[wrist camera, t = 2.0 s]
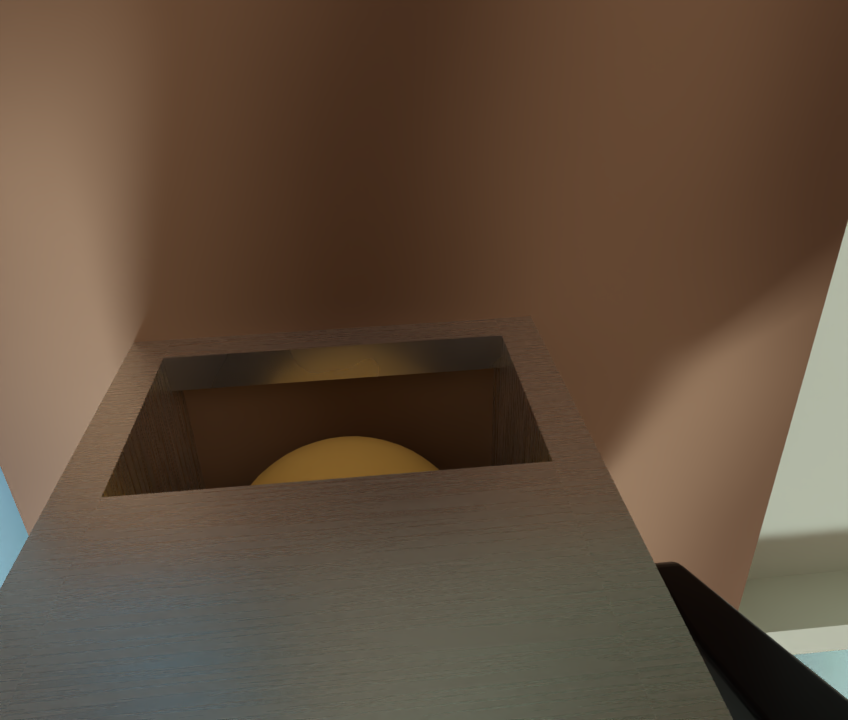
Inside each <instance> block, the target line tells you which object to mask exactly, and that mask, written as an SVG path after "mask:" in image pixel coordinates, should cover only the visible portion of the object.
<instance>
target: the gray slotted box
mask: <svg viewBox="0 0 848 720" xmlns="http://www.w3.org/2000/svg"><path fill="white" fill-rule="evenodd" d="M490 368H494V380H493V417H492V454H491V466H487V467H475V468H462V469H450V470H437V471H425V472H412V473H400V474H387V475H375V476H362V477H350V478H337V479H325V480H312V481H300V482H287V483H275V484H262V485H250V486H237V487H225V488H212V489H206V488H205V483H204V479H203V474H202V470H201V466H200V461H199V457H198V453H197V448H196V444H195V440H194V435H193V431H192V427H191V422H190V418H189V414H188V409H187V405H186V400H185V396H184V392H183V390H193V389H207V388H221V387H235V386H250V385H264V384H278V383H292V382H306V381H320V380H335V379H349V378H363V377H377V376H391V375H405V374H420V373H434V372H448V371H462V370H476V369H490ZM0 720H733V718H732V716H731V714H730V712H729V710H728V708H727V706H726V704H725V702H724V700H723V698H722V696H721V694H720V692H719V690H718V688H717V686H716V684H715V682H714V680H713V678H712V676H711V674H710V672H709V671H708V669H707V667H706V665H705V663H704V661H703V659H702V657H701V655H700V653H699V651H698V649H697V647H696V645H695V643H694V641H693V639H692V637H691V635H690V633H689V631H688V629H687V627H686V625H685V623H684V621H683V619H682V617H681V615H680V613H679V611H678V609H677V607H676V605H675V603H674V601H673V599H672V597H671V595H670V593H669V591H668V589H667V587H666V585H665V583H664V581H663V579H662V577H661V575H660V573H659V571H658V569H657V567H656V565H655V563H654V561H653V559H652V557H651V555H650V553H649V551H648V549H647V547H646V545H645V543H644V541H643V539H642V537H641V535H640V533H639V531H638V529H637V527H636V525H635V523H634V521H633V519H632V517H631V515H630V513H629V511H628V509H627V507H626V505H625V503H624V501H623V499H622V497H621V495H620V493H619V491H618V489H617V487H616V485H615V483H614V481H613V479H612V477H611V475H610V473H609V471H608V469H607V467H606V465H605V463H604V461H603V459H602V457H601V455H600V453H599V451H598V449H597V447H596V445H595V443H594V441H593V439H592V437H591V435H590V433H589V431H588V429H587V427H586V425H585V423H584V421H583V419H582V417H581V415H580V413H579V411H578V409H577V407H576V405H575V403H574V401H573V399H572V397H571V395H570V393H569V391H568V389H567V387H566V386H565V384H564V382H563V380H562V378H561V376H560V374H559V372H558V370H557V368H556V366H555V364H554V362H553V360H552V358H551V356H550V354H549V352H548V350H547V348H546V346H545V344H544V342H543V340H542V338H541V336H540V334H539V332H538V330H537V328H536V326H535V324H534V322H533V320H532V318H531V316H526V317H510V318H495V319H480V320H465V321H450V322H434V323H419V324H404V325H389V326H374V327H358V328H343V329H328V330H313V331H298V332H282V333H267V334H252V335H237V336H221V337H206V338H191V339H176V340H161V341H145V342H133V344H132V346H131V348H130V350H129V352H128V353H127V355H126V357H125V359H124V361H123V363H122V364H121V366H120V368H119V370H118V372H117V374H116V376H115V377H114V379H113V381H112V383H111V385H110V387H109V389H108V390H107V392H106V394H105V396H104V398H103V400H102V402H101V403H100V405H99V407H98V409H97V411H96V413H95V414H94V416H93V418H92V420H91V422H90V424H89V426H88V427H87V429H86V431H85V433H84V435H83V437H82V439H81V440H80V442H79V444H78V446H77V448H76V450H75V451H74V453H73V455H72V457H71V459H70V461H69V463H68V464H67V466H66V468H65V470H64V472H63V474H62V476H61V477H60V479H59V481H58V483H57V485H56V487H55V488H54V490H53V492H52V494H51V496H50V498H49V500H48V501H47V503H46V505H45V507H44V509H43V511H42V513H41V514H40V516H39V518H38V520H37V522H36V524H35V526H34V527H33V529H32V531H31V533H30V535H29V537H28V538H27V540H26V542H25V544H24V546H23V548H22V550H21V551H20V553H19V555H18V557H17V559H16V561H15V563H14V564H13V566H12V568H11V570H10V572H9V574H8V575H7V577H6V579H5V581H4V583H3V585H2V587H1V588H0Z"/></svg>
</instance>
